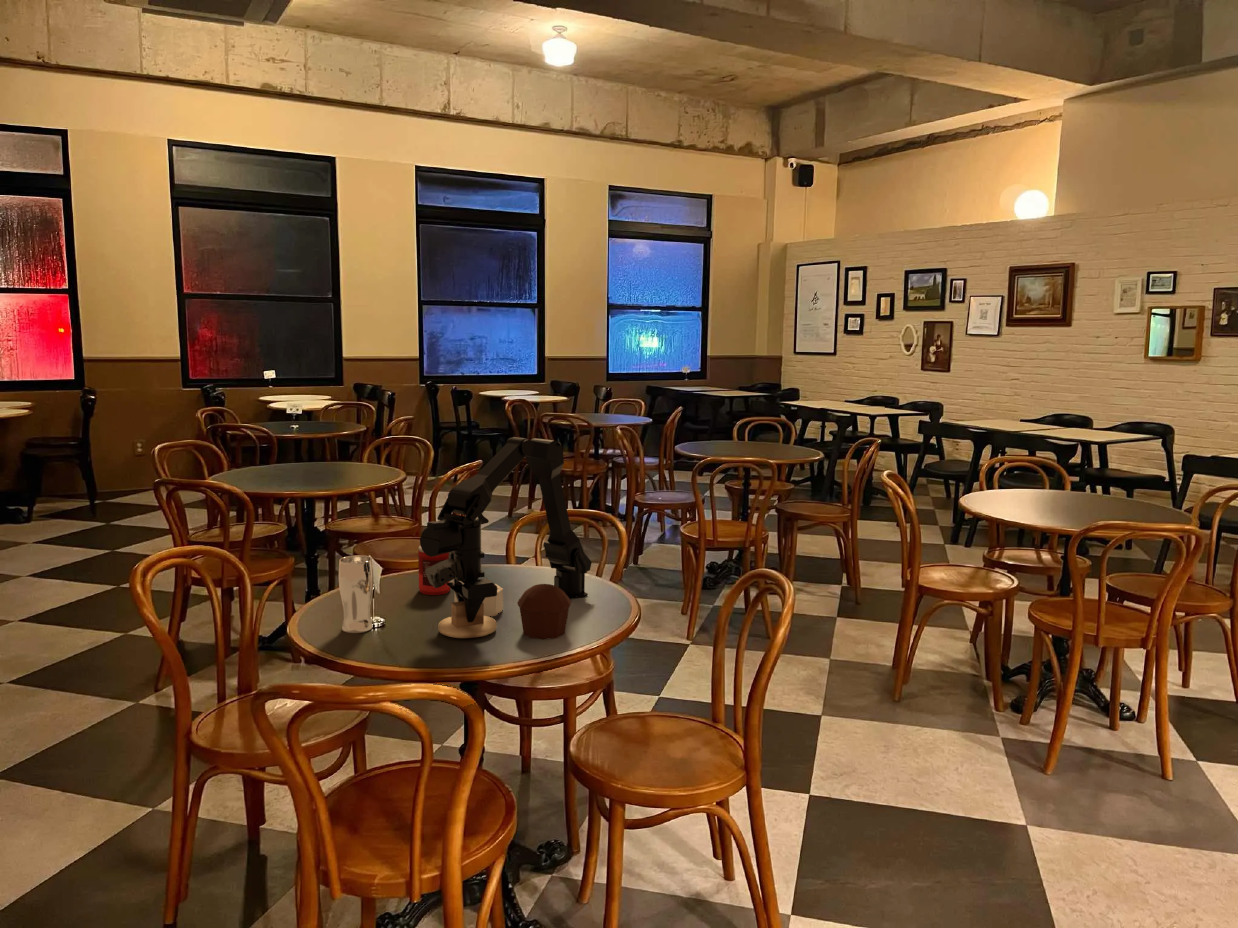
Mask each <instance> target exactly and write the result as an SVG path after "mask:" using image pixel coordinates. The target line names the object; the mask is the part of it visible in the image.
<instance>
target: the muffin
mask: <svg viewBox="0 0 1238 928" xmlns="http://www.w3.org/2000/svg"><path fill="white" fill-rule="evenodd" d="M516 603H517V606H518V608H519V611H520V620H521V627H522V631H523V632H522V633H523V635H524V636H527V637H529V638H530V639H538V640H549V639H550V640H551V639H552V640H553V639H558V638H560V637H562V636H564V635H565V633H566V628H567V623H568V622H567V621H568V615H569V610H570V607H571V604H572V600H571V598H569V597H568V596H567V595H566V593H565V592H564V591H562V590H561V589H560V588H558V587H557V586H554V584H549V583H539V584H538V583H537V584H535V585H532V586H531V587H529V588H528V589H526V590H525V591H524V592H523V593H522V595H521V596H520V598H519V599H518V601H517V602H516Z"/></svg>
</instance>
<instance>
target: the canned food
mask: <svg viewBox="0 0 1238 928" xmlns="http://www.w3.org/2000/svg"><path fill="white" fill-rule="evenodd" d="M417 549H418V553H417V555H418V556H417V558H418V562H417V563H418V565H417V566H418V590H419V593H420V594H423V595H428V596H441V595H444V594H448V593H449V592H451V590H452V589H451V588H450V587H449V586H448V585H447V584H446V583H445V584H443V586H441V587H439V588H434V586H433V585H431V584H430V582H429V580H428V577H427V575H426V572H425V570H426V569H427V568H429V567H431V566H433V565H435V564H437V563H439V562H441V561H444V560H447V559H449V553H450V552H449V553H445V554H441V555H437V556H433V557H430V556H428V555H426V554H425V553H424V552H423V550H422V548H421V545H419V546H418V548H417ZM447 583H450V581H449V582H447Z"/></svg>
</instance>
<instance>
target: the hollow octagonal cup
mask: <svg viewBox="0 0 1238 928" xmlns="http://www.w3.org/2000/svg"><path fill="white" fill-rule="evenodd" d="M494 584H495V585H496V586H497V596H494V597H487V598H485V599H484V601H483V603H484V616H488V617H490V616H491V617H496V616H498V615H499V614H500V613H502V612H503V611H504V588H502V587H501V586H499V585H498V584H497V583H494ZM454 602H458V600H457V597H456V594H455V592H454ZM502 610H503V611H502ZM498 613H499V614H498Z"/></svg>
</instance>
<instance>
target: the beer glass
mask: <svg viewBox="0 0 1238 928" xmlns="http://www.w3.org/2000/svg"><path fill="white" fill-rule="evenodd" d="M338 563H339V565H338V586H339V587H338V588H339V594H340V598H341V603H342V609H343V621H342V627H341V629H342V631H343V632H344V633H348V634H363V633H366V632H368V631H371V630H372V629H373V621H372V617H371V604H372V603H371V602H372V597H373V591H374V567H373V565H374V564H373V557H371V556H368V555H359V554H358V555H356V554H355V555H348V556H347V555H346V556H344V557H341V558H339V562H338Z"/></svg>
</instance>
